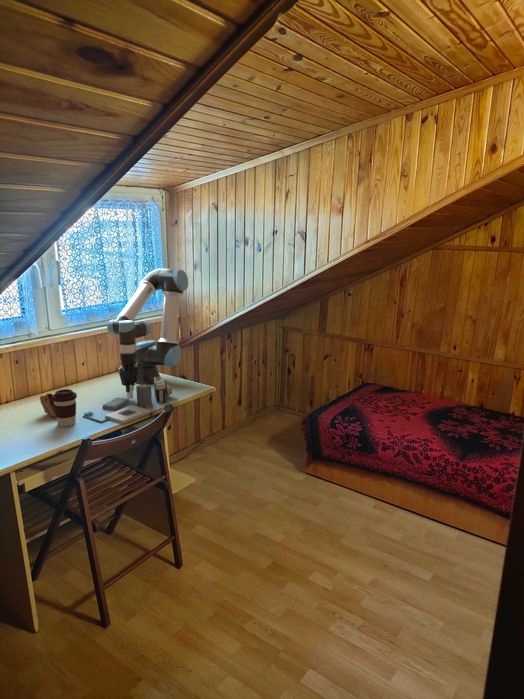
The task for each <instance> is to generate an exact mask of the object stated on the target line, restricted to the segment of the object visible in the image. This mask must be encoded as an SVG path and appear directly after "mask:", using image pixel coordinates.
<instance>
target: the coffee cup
mask: <svg viewBox="0 0 524 699" xmlns="http://www.w3.org/2000/svg"><path fill="white" fill-rule="evenodd" d="M77 398H78V395H77V393H76V392H75V391H73V390H72V389H69V388H68V389H67V388H65V389H64V388H63V389H59V390H57V391H55V393H54V394H52V400H53V401H54V409H55V415H56V417H57V418H56V417H55V418H56V422H57V426H58V427H62V428H66V427H67V428H68V427H72V426H73V425H75V424H76V421H77V420H76V418H77V417H76V414H77V401H76V399H77Z"/></svg>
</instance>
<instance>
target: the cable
mask: <svg viewBox="0 0 524 699" xmlns="http://www.w3.org/2000/svg"><path fill="white" fill-rule="evenodd" d="M93 415H94V413H93V411H91V410H89V411H87V412H84V413H83V415H82V418H85V419H88V420H91V421H94V422H96V423H100V424H103V423H106V422H108V421H111V420H110V418H108V419H106V418H105V419H103V420H100V419H97V418H94V417H91V416H93Z"/></svg>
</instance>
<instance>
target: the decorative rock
mask: <svg viewBox="0 0 524 699" xmlns="http://www.w3.org/2000/svg"><path fill="white" fill-rule="evenodd" d="M52 395H53V394H52V393H47V394H44V395H40V396H39V401H40V404H41V406H42V408H43V411H44V413H45V414H47V415H48V416H50V417H54V418H55V419H57V417H56V415H55V409H54V401H53V400H52Z"/></svg>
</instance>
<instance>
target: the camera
mask: <svg viewBox="0 0 524 699" xmlns="http://www.w3.org/2000/svg"><path fill="white" fill-rule="evenodd" d="M153 387H154V390H153V391H154V397H155V400H156V403H157V404H164V403H165V404H166V399H167V397H168V396H170V395H171V394H172V393H173V392H172V391H173V390H172V386H170V385H169V384H168V385H167V384H166V385H165V382H164V378H163V377H162V376H160V377H154V383H153Z"/></svg>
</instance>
